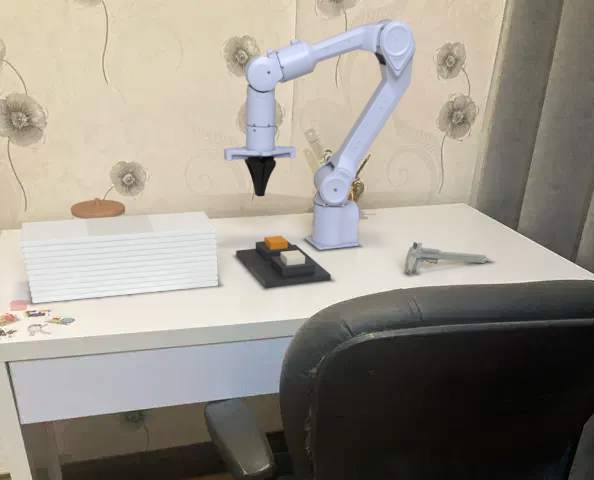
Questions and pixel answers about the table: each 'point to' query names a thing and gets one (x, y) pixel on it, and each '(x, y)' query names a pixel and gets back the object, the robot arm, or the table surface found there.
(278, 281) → the keypad
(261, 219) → the table surface
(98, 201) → the trinket box
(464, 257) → the caliper
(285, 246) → the amber key
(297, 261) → the white key
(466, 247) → the table surface
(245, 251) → the keypad
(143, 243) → the stack of papers
